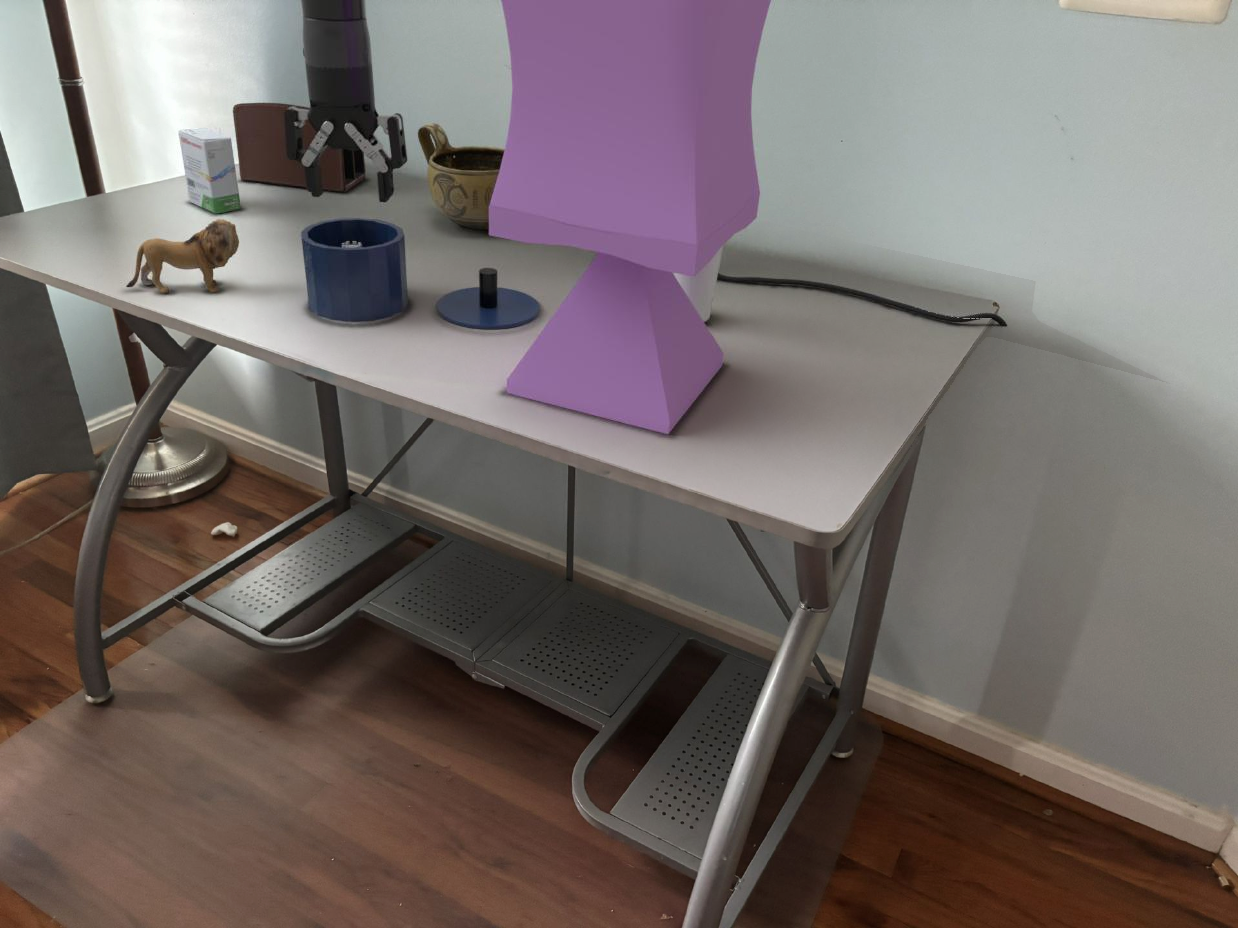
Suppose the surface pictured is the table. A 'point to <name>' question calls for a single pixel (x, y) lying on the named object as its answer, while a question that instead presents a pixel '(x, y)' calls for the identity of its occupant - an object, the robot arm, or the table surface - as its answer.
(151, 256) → the lion figurine
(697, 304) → the drinking glass
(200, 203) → the ink box
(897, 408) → the table surface
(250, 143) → the letter holder
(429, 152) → the ceramic bowl
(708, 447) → the table surface
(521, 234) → the purple table lamp
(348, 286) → the pot
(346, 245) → the rook chess piece
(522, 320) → the lid
